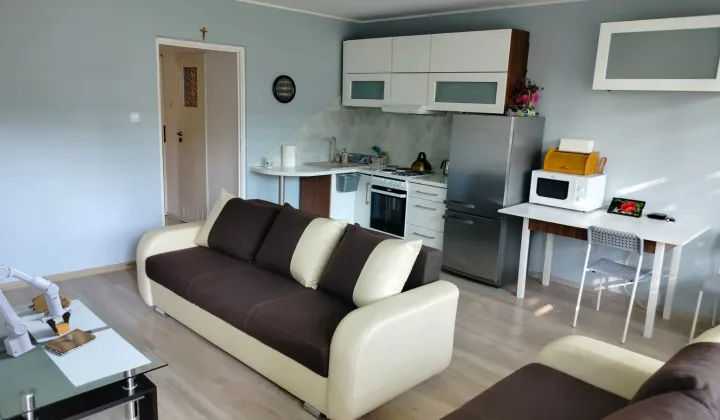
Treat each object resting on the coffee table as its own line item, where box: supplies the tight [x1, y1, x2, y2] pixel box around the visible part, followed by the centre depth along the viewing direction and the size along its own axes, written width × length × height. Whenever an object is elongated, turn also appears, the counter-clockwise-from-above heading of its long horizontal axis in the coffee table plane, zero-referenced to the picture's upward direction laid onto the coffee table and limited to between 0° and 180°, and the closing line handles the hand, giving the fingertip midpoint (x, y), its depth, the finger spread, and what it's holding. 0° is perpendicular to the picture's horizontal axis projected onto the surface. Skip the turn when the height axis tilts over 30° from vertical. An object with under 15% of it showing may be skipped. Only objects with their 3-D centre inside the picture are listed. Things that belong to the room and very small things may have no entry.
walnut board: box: [44, 328, 97, 354], centre depth 246 cm, size 16×16×4 cm
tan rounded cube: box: [55, 320, 71, 336], centre depth 257 cm, size 5×5×4 cm
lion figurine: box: [44, 296, 72, 320], centre depth 273 cm, size 15×5×9 cm, turn 131°
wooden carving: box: [27, 292, 63, 313], centre depth 281 cm, size 16×5×10 cm, turn 141°
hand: (61, 329), depth 257 cm, fingers closed on tan rounded cube, 5 cm apart
